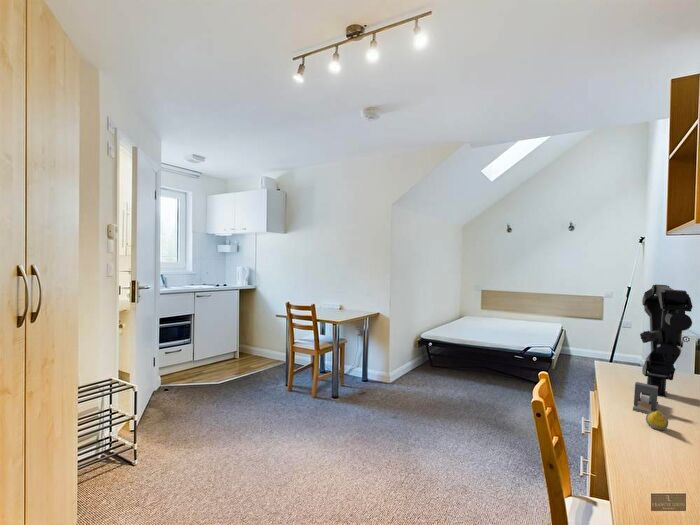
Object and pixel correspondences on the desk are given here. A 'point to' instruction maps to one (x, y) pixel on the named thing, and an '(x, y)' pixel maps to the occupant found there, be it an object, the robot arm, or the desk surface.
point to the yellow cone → (657, 420)
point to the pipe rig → (644, 404)
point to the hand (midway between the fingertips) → (668, 369)
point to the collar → (646, 390)
